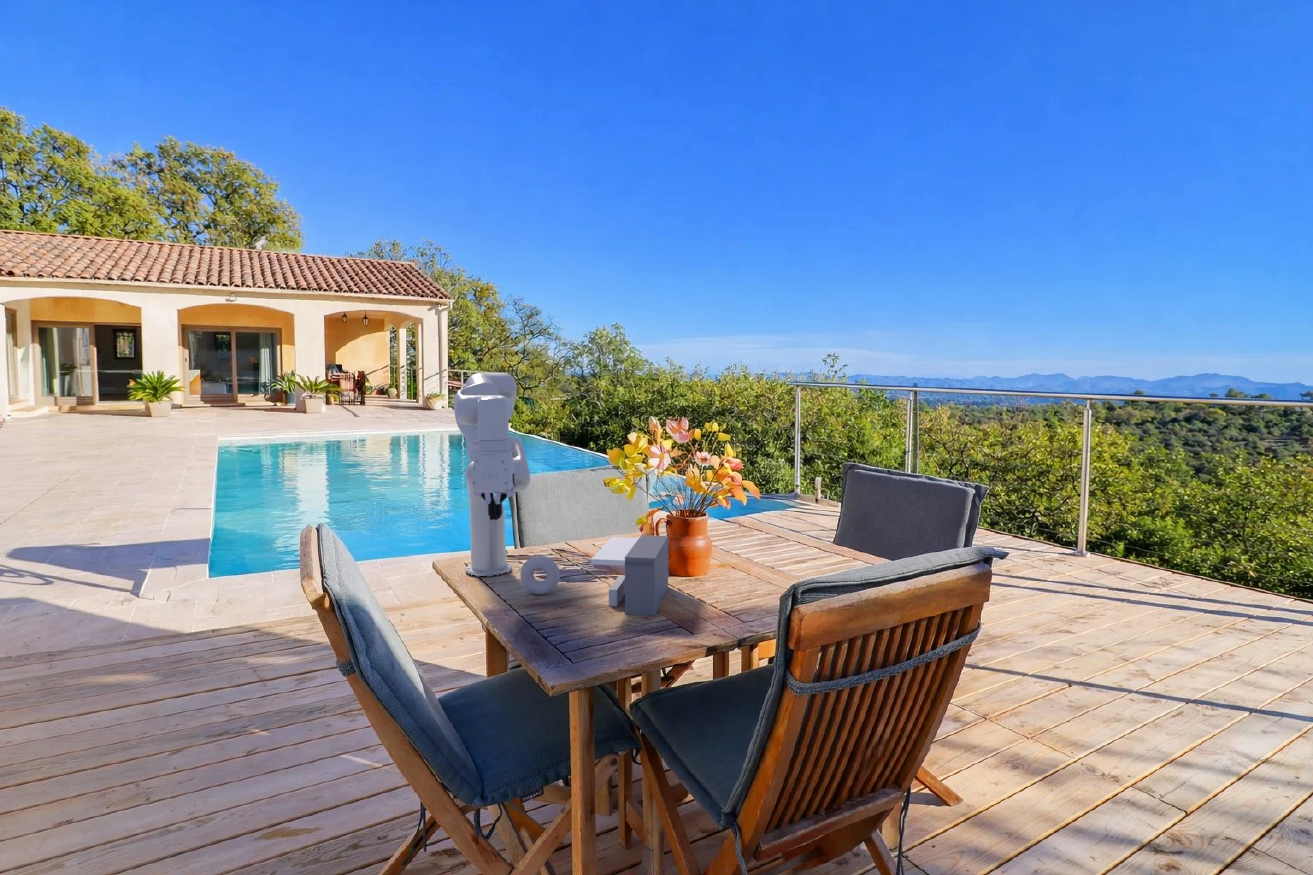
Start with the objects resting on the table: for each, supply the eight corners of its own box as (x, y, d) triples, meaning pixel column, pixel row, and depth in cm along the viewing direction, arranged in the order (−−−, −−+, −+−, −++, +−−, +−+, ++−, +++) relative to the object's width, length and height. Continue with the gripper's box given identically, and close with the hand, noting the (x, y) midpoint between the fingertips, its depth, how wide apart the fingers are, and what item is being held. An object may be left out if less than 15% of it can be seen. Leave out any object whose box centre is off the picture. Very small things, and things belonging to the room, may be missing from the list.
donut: (519, 596, 176) (518, 557, 175) (522, 592, 180) (521, 553, 179) (559, 596, 176) (558, 557, 175) (561, 592, 180) (560, 553, 179)
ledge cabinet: (611, 584, 186) (611, 534, 185) (668, 586, 184) (668, 536, 183) (591, 612, 165) (590, 555, 163) (654, 615, 162) (654, 558, 161)
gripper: (458, 447, 174) (460, 521, 175) (517, 448, 171) (518, 523, 173) (471, 444, 181) (473, 515, 183) (527, 445, 179) (528, 516, 180)
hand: (495, 518), depth 178 cm, fingers closed
